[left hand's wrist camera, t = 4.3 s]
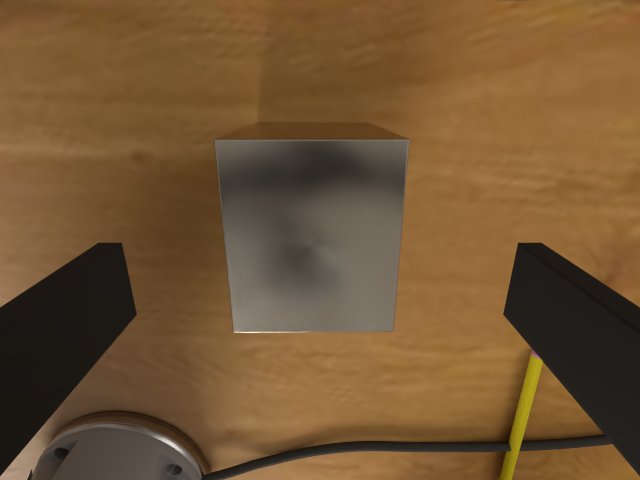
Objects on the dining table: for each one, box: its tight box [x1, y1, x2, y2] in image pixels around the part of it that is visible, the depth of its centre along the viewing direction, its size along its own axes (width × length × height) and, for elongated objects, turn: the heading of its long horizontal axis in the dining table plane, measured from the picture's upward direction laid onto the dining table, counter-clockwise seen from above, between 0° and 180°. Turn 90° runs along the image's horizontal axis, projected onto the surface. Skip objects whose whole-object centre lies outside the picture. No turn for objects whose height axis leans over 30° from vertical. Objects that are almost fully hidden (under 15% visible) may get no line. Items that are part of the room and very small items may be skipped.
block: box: [215, 123, 409, 333], centre depth 21 cm, size 8×9×11 cm
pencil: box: [500, 349, 543, 480], centre depth 33 cm, size 16×1×1 cm, turn 0°
